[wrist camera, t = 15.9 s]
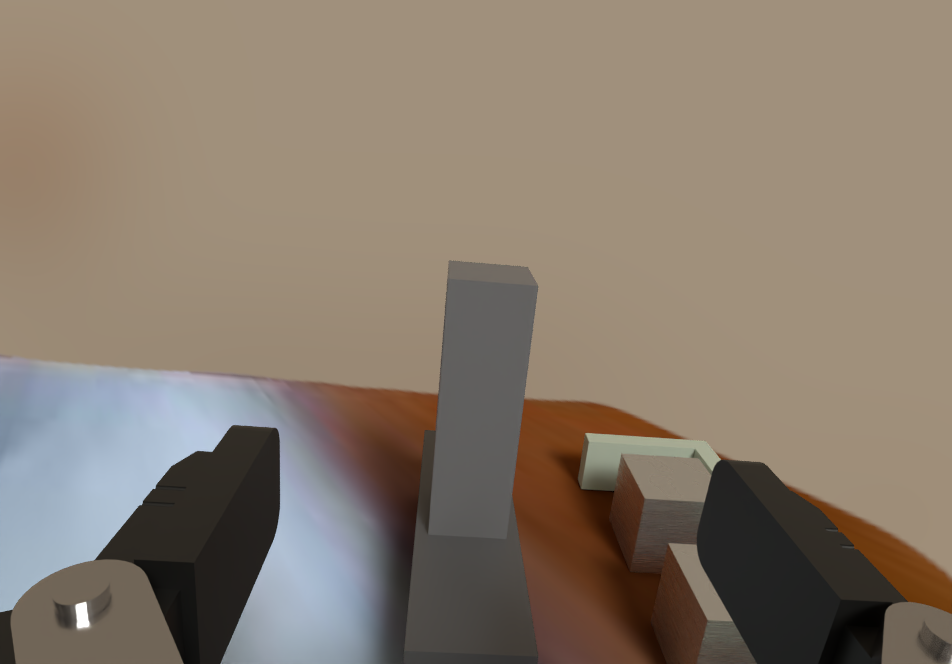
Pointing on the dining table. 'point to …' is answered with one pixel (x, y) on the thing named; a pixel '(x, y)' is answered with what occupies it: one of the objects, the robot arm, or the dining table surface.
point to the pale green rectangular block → (606, 453)
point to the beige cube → (693, 614)
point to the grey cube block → (656, 507)
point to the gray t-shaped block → (474, 479)
